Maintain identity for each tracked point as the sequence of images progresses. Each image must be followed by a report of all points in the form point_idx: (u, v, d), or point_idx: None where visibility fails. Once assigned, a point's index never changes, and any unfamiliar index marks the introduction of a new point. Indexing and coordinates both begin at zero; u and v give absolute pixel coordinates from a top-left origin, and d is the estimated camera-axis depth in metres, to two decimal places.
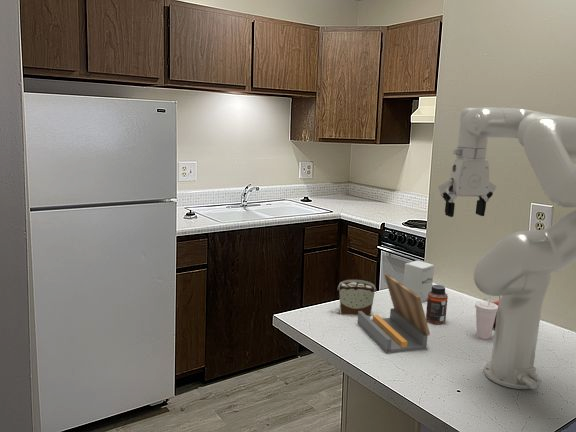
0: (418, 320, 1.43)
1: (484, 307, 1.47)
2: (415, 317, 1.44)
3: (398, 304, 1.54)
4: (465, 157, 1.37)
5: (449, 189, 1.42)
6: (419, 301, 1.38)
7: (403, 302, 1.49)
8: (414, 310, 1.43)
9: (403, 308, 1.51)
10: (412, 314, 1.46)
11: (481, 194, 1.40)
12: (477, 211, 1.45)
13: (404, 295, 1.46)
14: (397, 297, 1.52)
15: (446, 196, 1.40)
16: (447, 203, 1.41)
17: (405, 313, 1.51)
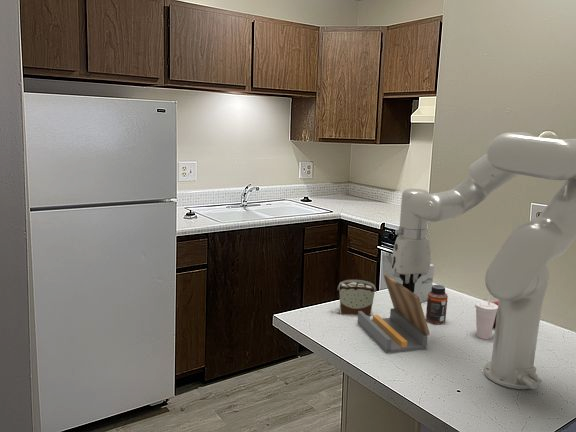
0: (418, 320, 1.43)
1: (484, 307, 1.47)
2: (415, 317, 1.44)
3: (398, 304, 1.54)
4: (406, 237, 1.42)
5: (392, 266, 1.47)
6: (418, 301, 1.38)
7: (403, 302, 1.49)
8: (414, 310, 1.43)
9: (403, 308, 1.51)
10: (412, 314, 1.46)
11: (423, 272, 1.45)
12: None
13: (403, 295, 1.46)
14: (397, 297, 1.52)
15: (402, 277, 1.45)
16: (404, 283, 1.47)
17: (405, 313, 1.51)
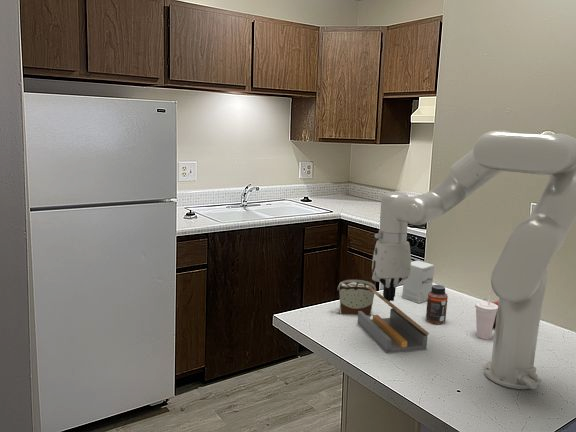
0: None
1: (484, 307, 1.47)
2: None
3: None
4: (385, 241, 1.40)
5: (373, 270, 1.45)
6: (402, 314, 1.37)
7: None
8: None
9: None
10: None
11: (403, 276, 1.43)
12: None
13: None
14: None
15: (383, 282, 1.44)
16: (384, 288, 1.45)
17: None
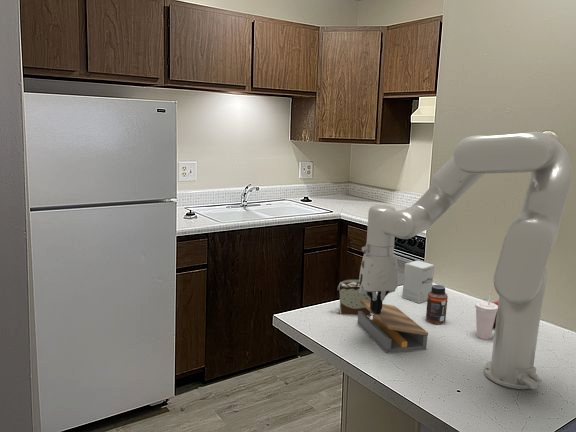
0: None
1: (484, 307, 1.47)
2: None
3: None
4: (372, 255, 1.40)
5: (360, 283, 1.45)
6: (394, 328, 1.37)
7: None
8: None
9: None
10: None
11: (390, 289, 1.43)
12: None
13: None
14: None
15: (370, 295, 1.44)
16: (371, 300, 1.45)
17: None
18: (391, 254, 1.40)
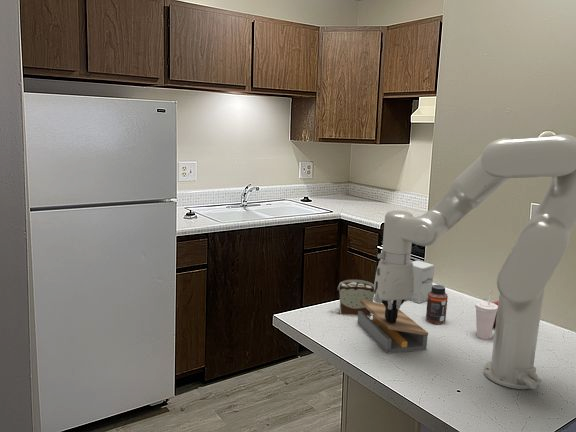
0: None
1: (484, 307, 1.47)
2: None
3: None
4: (388, 262, 1.35)
5: (375, 291, 1.40)
6: (394, 328, 1.37)
7: None
8: None
9: None
10: None
11: (406, 297, 1.38)
12: None
13: None
14: None
15: (385, 303, 1.39)
16: (386, 309, 1.40)
17: None
18: (408, 262, 1.35)
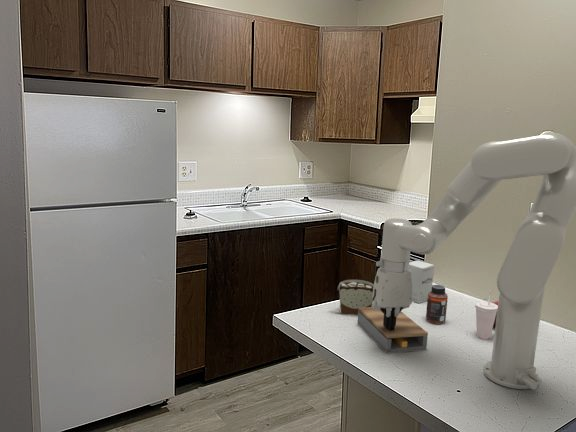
0: None
1: (484, 307, 1.47)
2: None
3: None
4: (387, 270, 1.35)
5: (373, 298, 1.41)
6: (392, 336, 1.38)
7: None
8: None
9: None
10: None
11: (404, 305, 1.38)
12: None
13: None
14: None
15: (383, 311, 1.39)
16: (385, 316, 1.41)
17: None
18: (406, 269, 1.36)
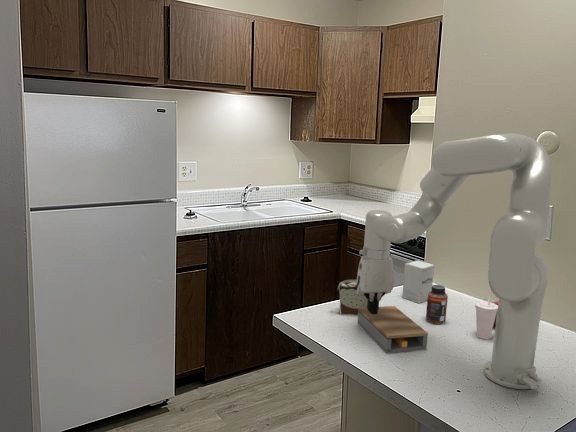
0: None
1: (484, 307, 1.47)
2: None
3: None
4: (369, 257, 1.47)
5: (357, 284, 1.52)
6: (392, 337, 1.38)
7: None
8: None
9: None
10: None
11: (386, 290, 1.50)
12: None
13: None
14: None
15: (367, 295, 1.50)
16: (368, 301, 1.52)
17: None
18: (387, 257, 1.47)
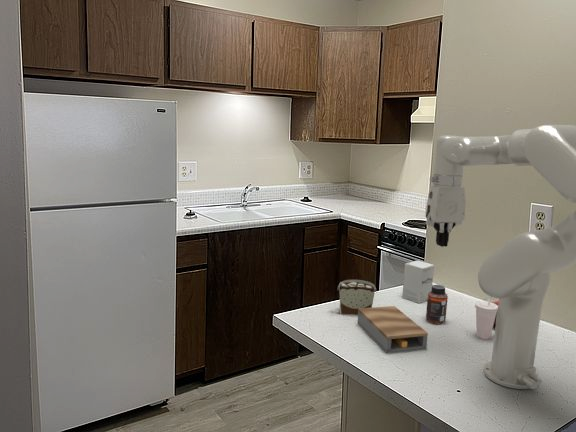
0: None
1: (484, 307, 1.47)
2: None
3: None
4: (441, 184, 1.39)
5: (426, 215, 1.44)
6: (392, 337, 1.38)
7: None
8: None
9: None
10: None
11: (458, 220, 1.42)
12: None
13: None
14: None
15: (437, 226, 1.43)
16: (438, 233, 1.44)
17: None
18: (460, 184, 1.39)
